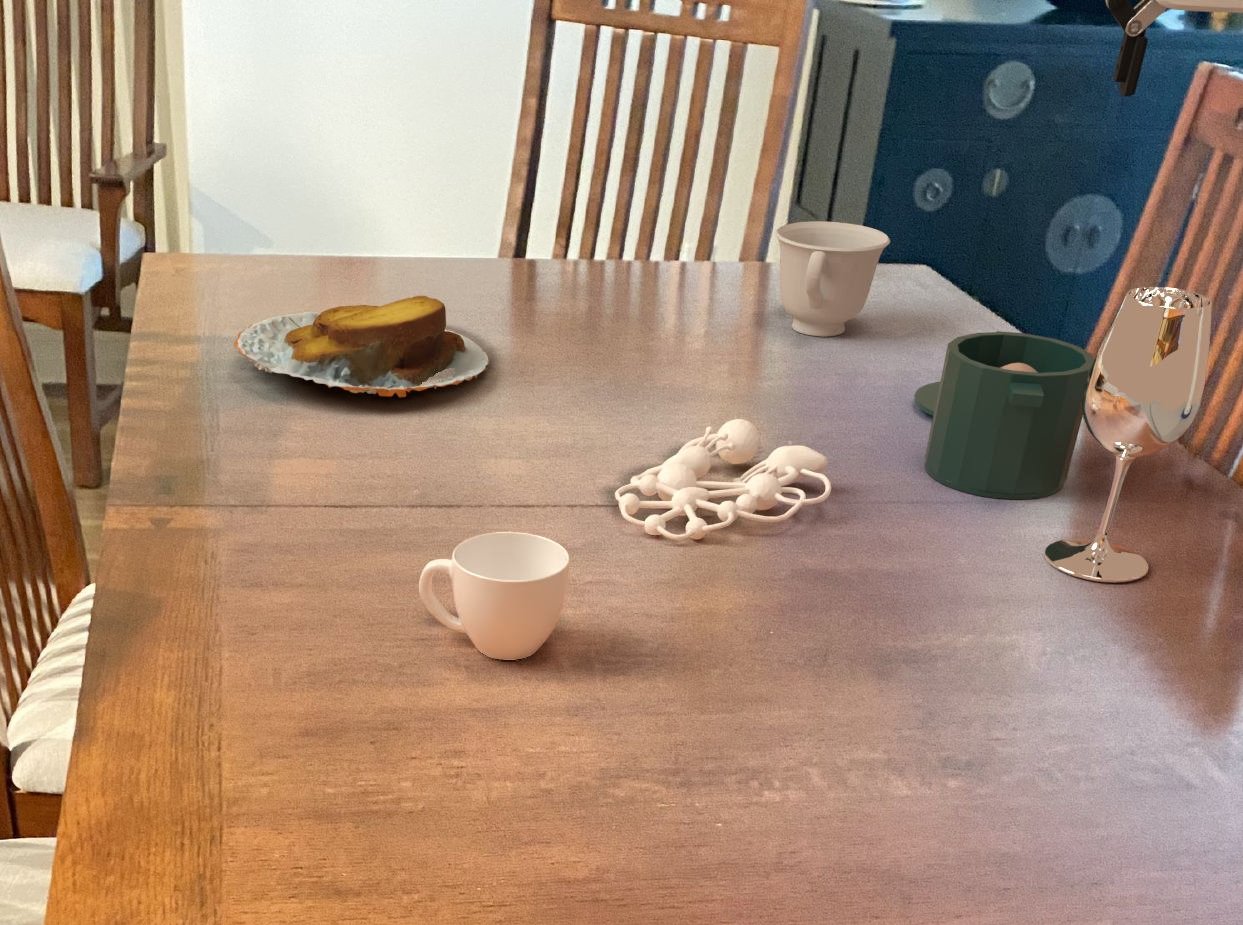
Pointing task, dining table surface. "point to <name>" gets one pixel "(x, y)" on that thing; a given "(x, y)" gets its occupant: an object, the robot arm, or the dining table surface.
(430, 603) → the cup
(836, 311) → the teacup
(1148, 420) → the wineglass
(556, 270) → the dining table surface
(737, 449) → the tangled rod sculpture
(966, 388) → the pot
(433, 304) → the food on plate
